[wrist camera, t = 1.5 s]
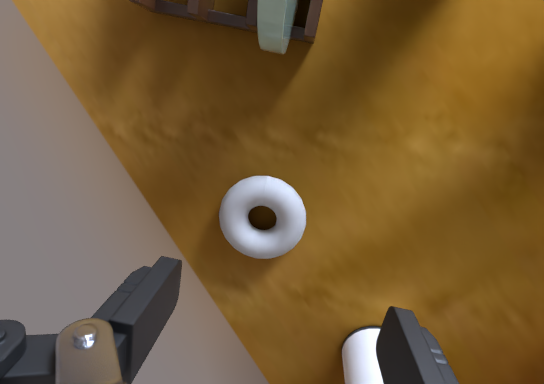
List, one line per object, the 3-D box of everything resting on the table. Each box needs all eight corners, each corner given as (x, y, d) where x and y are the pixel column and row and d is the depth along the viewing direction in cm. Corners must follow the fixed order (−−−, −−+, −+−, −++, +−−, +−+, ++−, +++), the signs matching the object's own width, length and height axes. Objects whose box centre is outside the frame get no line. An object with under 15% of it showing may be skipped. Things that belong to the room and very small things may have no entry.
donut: (233, 254, 41) (312, 244, 39) (226, 269, 37) (312, 259, 36) (214, 178, 38) (299, 165, 36) (205, 188, 34) (297, 173, 33)
